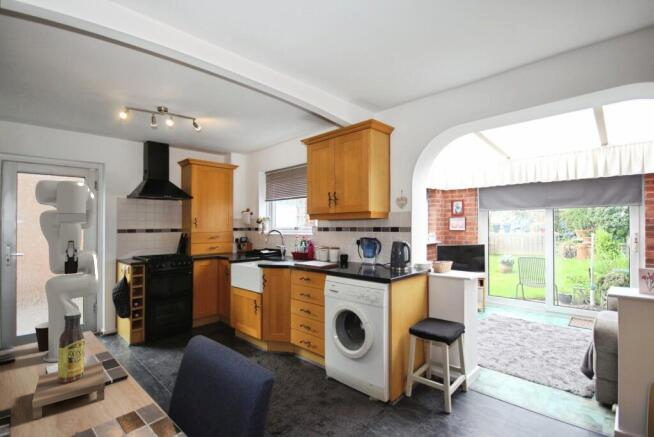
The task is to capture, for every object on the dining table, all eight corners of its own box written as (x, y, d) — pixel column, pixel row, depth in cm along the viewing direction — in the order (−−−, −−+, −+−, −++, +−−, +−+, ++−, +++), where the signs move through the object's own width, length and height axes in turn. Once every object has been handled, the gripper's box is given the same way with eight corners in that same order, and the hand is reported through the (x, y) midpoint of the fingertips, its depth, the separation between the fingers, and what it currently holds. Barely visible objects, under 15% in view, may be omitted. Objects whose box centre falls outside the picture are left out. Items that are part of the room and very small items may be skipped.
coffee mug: (39, 354, 126) (39, 329, 126) (31, 349, 131) (31, 325, 131) (74, 344, 136) (74, 321, 136) (66, 340, 141) (66, 317, 141)
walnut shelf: (39, 391, 100) (39, 375, 100) (101, 375, 109) (101, 361, 109) (32, 420, 85) (32, 401, 85) (104, 399, 95) (104, 382, 95)
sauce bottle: (69, 385, 94) (69, 318, 94) (52, 383, 95) (52, 316, 95) (89, 374, 100) (89, 311, 100) (73, 372, 101) (73, 310, 101)
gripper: (58, 217, 108) (58, 267, 109) (54, 220, 94) (54, 277, 95) (86, 217, 113) (85, 265, 113) (86, 220, 99) (86, 274, 99)
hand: (71, 271), depth 104 cm, fingers open, 9 cm apart
